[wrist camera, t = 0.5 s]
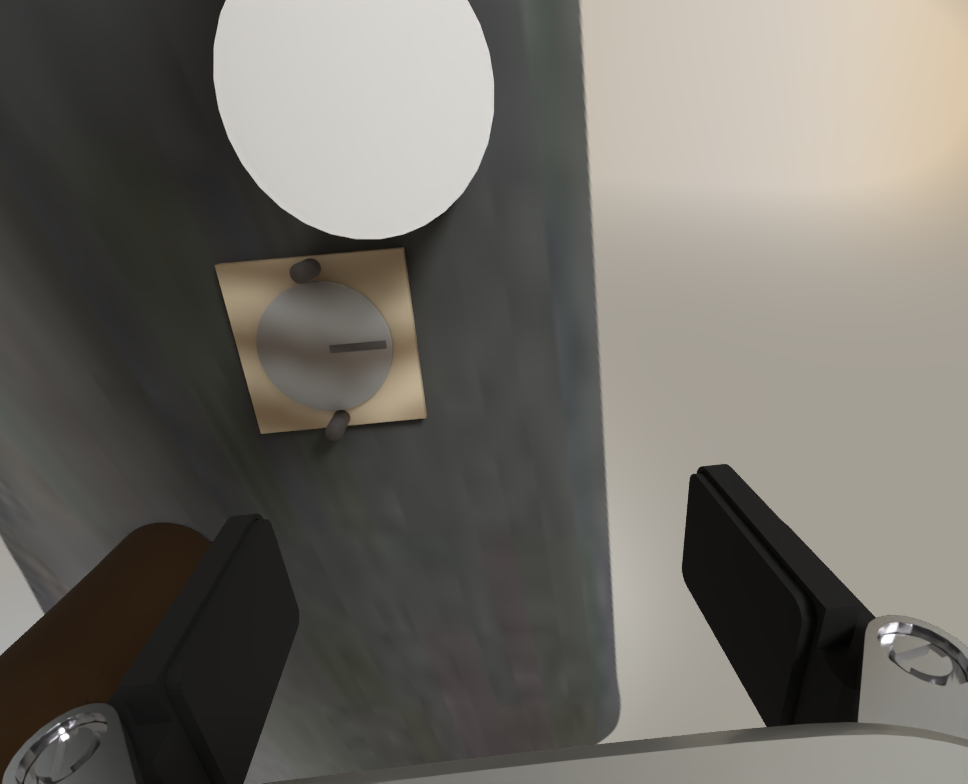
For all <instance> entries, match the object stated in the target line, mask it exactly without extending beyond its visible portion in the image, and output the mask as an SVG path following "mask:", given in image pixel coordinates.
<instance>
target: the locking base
mask: <svg viewBox="0 0 968 784" xmlns="http://www.w3.org/2000/svg"><path fill="white" fill-rule="evenodd" d="M215 269H216V272H217V276H218V279H219V283H220V287H221V290H222V294H223V298H224V301H225V305H226V309H227V312H228V316H229V320H230V323H231V327H232V330H233V334H234V338H235V341H236V345H237V349H238V352H239V356H240V360H241V363H242V367H243V371H244V374H245V378H246V381H247V385H248V389H249V392H250V396H251V400H252V403H253V407H254V411H255V414H256V418H257V422H258V425H259V429H260V432H261V434H265V433H275V432H286V431H296V430H307V429H317V428H326V430H325V436H326V437H327V438H328V439H329V440H331V441H338V440H340V439H341V438H342V436H343V434H344V432H345V430H346V428H347V426H349V425H359V424H370V423H380V422H391V421H401V420H412V419H422V418H426V415H427V412H426V405H425V397H424V390H423V383H422V375H421V368H420V360H419V353H418V346H417V338H416V331H415V323H414V316H413V309H412V301H411V294H410V286H409V279H408V271H407V264H406V257H405V249H404V247H400V248H389V249H377V250H366V251H355V252H344V253H332V254H321V255H310V256H299V257H287V258H276V259H265V260H253V261H242V262H231V263H220V264H217V265H215Z"/></svg>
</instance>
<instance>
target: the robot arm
mask: <svg viewBox="0 0 968 784" xmlns="http://www.w3.org/2000/svg"><path fill="white" fill-rule="evenodd" d="M682 573H683V578H684V581H685V583H686V585H687V587H688V589H689V591H690V592H691V594H692V596H693V598H694V599H695V601H696V603H697V605H698V606H699V608H700V610H701V612H702V613H703V615H704V617H705V619H706V621H707V622H708V624H709V626H710V628H711V629H712V631H713V633H714V635H715V637H716V638H717V640H718V642H719V644H720V645H721V647H722V649H723V651H724V652H725V654H726V656H727V658H728V659H729V661H730V663H731V665H732V667H733V668H734V670H735V672H736V674H737V675H738V677H739V679H740V681H741V682H742V684H743V686H744V688H745V689H746V691H747V693H748V695H749V697H750V698H751V700H752V702H753V704H754V705H755V707H756V709H757V710H758V712H759V714H760V716H761V718H762V719H763V721H764V723H765V725H766V726H767V727H764V728H752V729H741V730H730V731H718V732H709V733H700V734H690V735H682V736H672V737H662V738H653V739H644V740H635V741H625V742H616V743H606V744H597V745H588V746H579V747H570V748H561V749H552V750H543V751H534V752H526V753H517V754H508V755H499V756H490V757H481V758H473V759H464V760H455V761H447V762H438V763H429V764H420V765H412V766H404V767H395V768H387V769H378V770H370V771H362V772H353V773H345V774H337V775H328V776H320V777H312V778H303V779H295V780H287V781H279V782H271V783H264V784H968V647H967V646H966V645H964V644H963V643H962V642H961V641H960V640H958V639H957V638H956V637H954V636H952V635H951V634H949V633H947V632H946V631H944V630H942V629H941V628H939V627H937V626H934V625H932V624H929V623H927V622H924V621H922V620H918V619H915V618H911V617H907V616H899V615H898V616H897V615H887V616H881V617H877V618H876V617H875V616H874V615H873V614H872V613H871V612H870V611H869V610H868V609H867V608H866V607H865V606H864V605H863V604H862V603H861V602H860V601H859V600H858V599H857V598H856V597H855V596H854V594H853V593H852V592H851V591H850V590H849V589H848V588H847V587H846V586H845V585H844V584H843V583H842V582H841V581H840V580H839V579H838V578H837V577H836V576H835V574H834V573H833V572H832V571H831V570H830V569H829V568H828V567H827V566H826V565H825V564H824V563H823V562H822V561H821V560H820V559H819V558H818V557H817V556H816V555H815V554H814V553H813V552H812V550H811V549H810V548H809V547H808V546H807V545H806V544H805V543H804V542H803V541H802V540H801V539H800V538H799V537H798V536H797V535H796V534H795V533H794V532H793V531H792V529H791V528H789V526H788V525H786V524H785V523H784V522H783V521H782V520H781V519H780V518H778V516H777V515H776V514H775V513H774V512H773V511H772V510H771V509H770V508H769V507H768V506H767V505H766V504H765V502H764V501H763V500H762V499H761V498H760V497H759V496H758V495H757V494H756V493H755V492H754V491H753V490H752V489H751V488H750V487H749V486H748V485H747V484H746V482H744V480H743V479H742V478H741V477H740V476H739V475H738V474H737V473H736V472H735V471H734V470H733V469H732V468H731V467H730V466H729V465H727V464H721V465H712V466H703V467H700V468H699V469H698V471H697V474H692V475H691V477H690V482H689V494H688V504H687V516H686V527H685V539H684V550H683V561H682ZM298 625H299V609H298V606H297V603H296V599H295V596H294V593H293V590H292V587H291V584H290V581H289V577H288V574H287V571H286V568H285V565H284V562H283V559H282V556H281V552H280V549H279V546H278V543H277V540H276V537H275V534H274V530H273V527H272V524H271V522H270V521H269V520H267V519H266V520H263V518H262V517H261V515H259V514H250V515H241V516H232V517H230V518H229V519H228V520H227V521H226V523H225V524H224V526H223V527H222V529H221V530H220V532H219V533H218V535H217V537H216V538H215V540H214V541H213V543H212V544H211V546H210V547H209V549H208V550H207V552H206V553H205V555H204V556H203V558H202V559H201V561H200V562H199V564H198V565H197V567H196V568H195V570H194V571H193V573H192V574H191V576H190V577H189V579H188V580H187V582H186V583H185V585H184V586H183V588H182V589H181V591H180V592H179V594H178V595H177V597H176V598H175V600H174V601H173V603H172V604H171V606H170V608H169V609H168V611H167V612H166V614H165V615H164V617H163V618H162V620H161V621H160V623H159V624H158V626H157V627H156V629H155V630H154V632H153V633H152V635H151V636H150V638H149V639H148V641H147V642H146V644H145V645H144V647H143V648H142V650H141V651H140V653H139V654H138V656H137V657H136V659H135V660H134V662H133V663H132V665H131V666H130V668H129V669H128V671H127V672H126V674H125V675H124V677H123V679H122V680H121V682H120V683H119V685H118V686H117V689H116V690H115V692H114V693H113V695H112V696H111V698H110V699H109V701H108V702H107V704H105V703H91V704H87V705H84V706H81V707H77V708H74V709H72V710H70V711H68V712H66V713H64V714H62V715H60V716H58V717H57V718H55V719H54V720H52V721H51V722H49V723H48V724H47V725H45V726H44V727H42V728H41V729H40V730H39V731H37V732H36V733H35V734H34V735H33V736H32V737H31V738H30V739H29V740H27V741H26V742H25V743H24V745H23V746H22V747H21V748H20V749H19V751H18V752H17V753H16V754H15V755H14V757H13V758H12V760H11V762H10V763H9V765H8V767H7V769H6V771H5V772H4V776H3V781H2V784H243V783H244V781H245V778H246V775H247V772H248V769H249V766H250V763H251V761H252V758H253V755H254V752H255V749H256V746H257V743H258V740H259V738H260V735H261V732H262V729H263V726H264V723H265V720H266V717H267V715H268V712H269V709H270V706H271V703H272V700H273V697H274V694H275V692H276V689H277V686H278V683H279V680H280V677H281V674H282V671H283V669H284V666H285V663H286V660H287V657H288V654H289V651H290V648H291V646H292V643H293V640H294V637H295V634H296V631H297V628H298Z"/></svg>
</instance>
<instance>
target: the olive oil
mask: <svg viewBox="0 0 968 784" xmlns="http://www.w3.org/2000/svg"><path fill="white" fill-rule="evenodd" d="M211 544H212V543H211V542H210V541H209V540H208V539H206V538H205V537H204V536H202V535H201V534H199V533H198V532H196V531H194V530H192V529H190V528H187V527H184V526H181V525H176V524H170V523H155V524H149V525H145V526H142V527H140V528H138V529H136V530H134V531H133V532H131V533H130V534H129V535H128V536H127V537H126V538H125V539H124V540H122V541H121V542H120V543H119V544H118V545H117V546H116V547H115V548H114V549H113V550H112V551H111V552H110V553H109V554H108V555H107V556H106V557H105V558H104V559H103V560H102V561H101V562H100V563H99V564H98V565H97V566H96V567H95V568H94V569H93V570H92V571H91V572H90V573H89V574H88V575H86V576H85V577H84V578H83V579H82V580H81V581H80V582H79V583H78V584H77V585H76V586H75V587H74V588H73V589H72V590H71V591H69V592H68V593H67V594H66V595H65V596H64V597H63V598H62V599H61V600H60V601H59V602H58V603H57V604H56V605H55V606H53V607H52V608H51V609H50V610H49V611H48V612H47V613H46V614H45V615H44V616H43V617H42V618H41V619H40V620H39V621H37V622H36V623H35V624H34V625H33V626H32V627H31V628H30V629H29V630H28V631H27V632H25V633H24V635H22V636H21V637H20V638H19V639H18V640H17V641H16V642H15V643H14V644H13V645H11V646H10V647H9V648H8V649H7V650H6V651H5V652H4V653H3V654H2V655H1V656H0V784H2V781H3V776H4V772H5V771H6V769H7V767H8V765H9V763H10V762H11V760H12V758H13V757H14V755H15V754H16V753H17V752H18V751H19V749H20V748H21V747H22V746H23V745H24V743H25V742H26V741H27V740H29V739H30V738H31V737H32V736H33V735H34V734H35V733H36V732H37V731H39V730H40V729H41V728H42V727H44V726H45V725H47V724H48V723H49V722H51V721H52V720H54V719H55V718H57V717H58V716H60V715H62V714H64V713H66V712H68V711H70V710H72V709H74V708H77V707H81V706H84V705H87V704H91V703H105V704H107V702H108V701H109V699H110V698H111V696H112V695H113V693H114V692H115V690H116V689H117V686H118V685H119V683H120V682H121V680H122V679H123V677H124V675H125V674H126V672H127V671H128V669H129V668H130V666H131V665H132V663H133V662H134V660H135V659H136V657H137V656H138V654H139V653H140V651H141V650H142V648H143V647H144V645H145V644H146V642H147V641H148V639H149V638H150V636H151V635H152V633H153V632H154V630H155V629H156V627H157V626H158V624H159V623H160V621H161V620H162V618H163V617H164V615H165V614H166V612H167V611H168V609H169V608H170V606H171V604H172V603H173V601H174V600H175V598H176V597H177V595H178V594H179V592H180V591H181V589H182V588H183V586H184V585H185V583H186V582H187V580H188V579H189V577H190V576H191V574H192V573H193V571H194V570H195V568H196V567H197V565H198V564H199V562H200V561H201V559H202V558H203V556H204V555H205V553H206V552H207V550H208V549H209V547H210V546H211Z"/></svg>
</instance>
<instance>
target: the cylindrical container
mask: <svg viewBox="0 0 968 784" xmlns="http://www.w3.org/2000/svg"><path fill="white" fill-rule="evenodd" d="M213 79H214V85H215V91H216V97H217V103H218V108H219V112H220V115H221V118H222V121H223V124H224V127H225V130H226V133H227V135H228V138H229V140H230V142H231V144H232V146H233V148H234V150H235V152H236V153H237V155H238V157H239V159H240V161H241V163H242V164H243V166H244V167H245V168H246V170H247V171H248V173H249V174H250V175H251V177H252V178H253V179H254V181H255V182H256V183H257V185H258V186H259V187H260V188H261V189H262V190H263V191H264V192H265V193H266V194H267V195H268V196H269V197H270V198H271V199H272V200H273V201H274V202H276V203H277V204H278V205H279V206H280V207H281V208H282V209H284V210H285V211H287V212H288V213H290V214H291V215H293V216H294V217H296V218H297V219H299V220H300V221H302V222H304V223H305V224H307V225H310V226H312V227H315V228H317V229H320V230H322V231H324V232H327V233H329V234H333V235H338V236H343V237H348V238H353V239H384V238H389V237H393V236H398V235H403V234H406V233H408V232H410V231H413V230H415V229H417V228H420V227H422V226H425V225H426V224H427V223H429V222H430V221H432V220H433V219H435V218H436V217H438V216H439V215H441V214H442V213H444V212H445V211H446V210H447V209H448V208H449V207H450V206H451V205H452V204H453V203H454V202H455V201H456V200H457V198H458V197H459V196H460V195H461V194H462V193H463V192H464V190H465V189H466V187H467V186H468V184H469V182H470V181H471V179H472V178H473V176H474V175H475V173H476V171H477V170H478V168H479V165H480V162H481V160H482V157H483V155H484V152H485V149H486V147H487V144H488V141H489V136H490V130H491V125H492V119H493V114H494V79H493V73H492V66H491V60H490V54H489V50H488V47H487V44H486V41H485V38H484V35H483V32H482V29H481V26H480V23H479V21H478V19H477V17H476V15H475V13H474V12H473V10H472V8H471V6H470V4H469V2H468V0H226V1H225V3H224V6H223V8H222V10H221V13H220V17H219V22H218V27H217V32H216V37H215V42H214V73H213Z"/></svg>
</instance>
